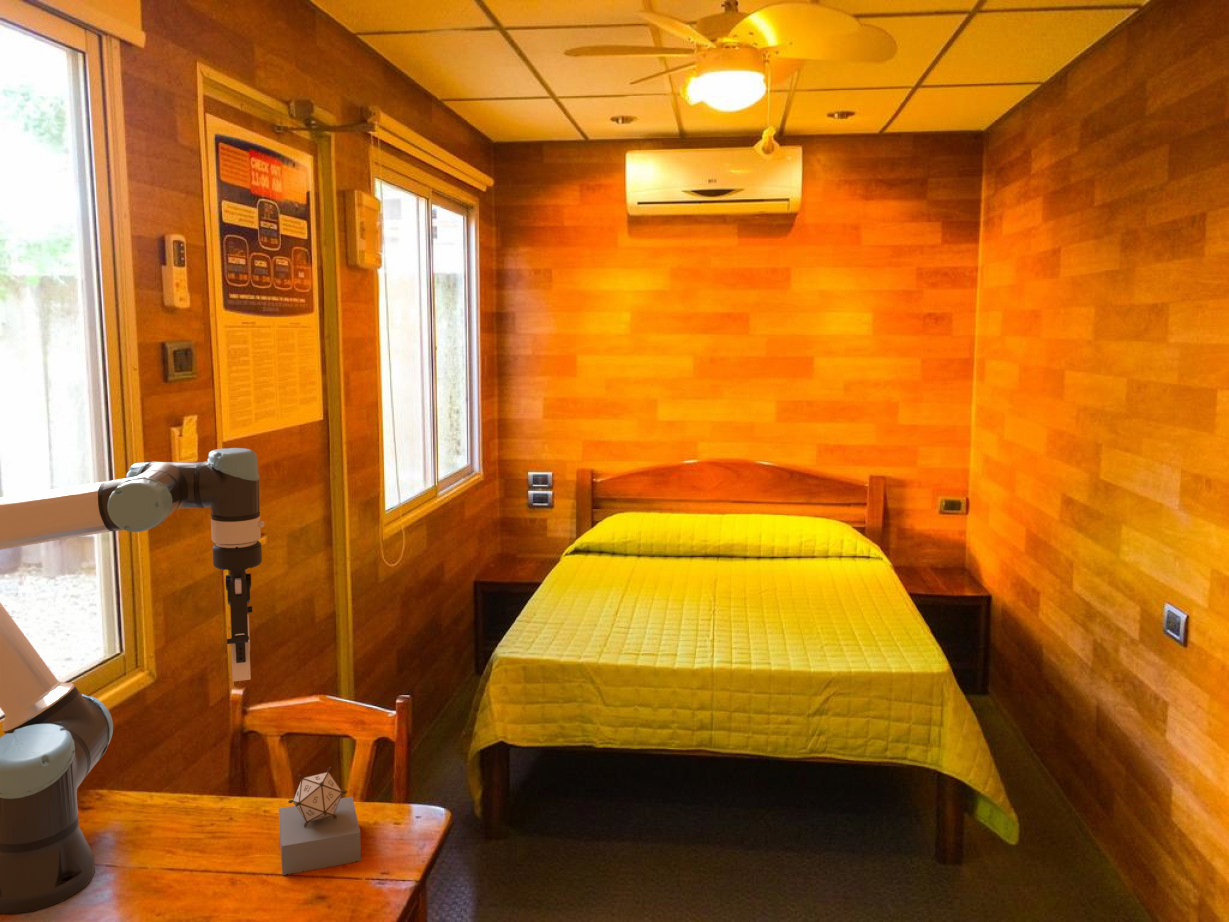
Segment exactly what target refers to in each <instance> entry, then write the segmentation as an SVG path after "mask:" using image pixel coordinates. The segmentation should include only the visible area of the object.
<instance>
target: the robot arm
mask: <svg viewBox="0 0 1229 922" xmlns="http://www.w3.org/2000/svg"><path fill="white" fill-rule="evenodd" d="M260 478H261V476H260V474H259V462H258V455H257V453H256V452H255V451H254V450H252V449H249V448H243V447H229V448H227V447H226V448H224V447H223V448H216V449H213V450H211V451H209V452H208V458H207V460H206V461H197V462H196V461H195V462H194V461H193V462H192V461H190V462H189V461H185V462H184V461H183V462H182V461H181V462H179V461H177V462H176V461H157V460H153V461H150V462H136V463H133V464H132V465H131V466H130V467H129V469H128V471H127V472H126V477H125V478H118V479H111V480H109V481H108V480H107V481H101V482H95V483H94V482H93V483H86V484H81V485H80V484H79V485H75V486H68V487H67V486H66V487H60V488H53V489H47V490H40V491H33V492H28V493H19V494H15V495H7V496H2V497H0V550H6V549H12V548H19V547H25V546H30V545H38V544H43V543H49V542H54V541H55V542H57V541H61V540H67V539H75V538H80V537H85V536H90V535H91V536H92V535H99V534H104V533H109V532H110V533H111V532H117V531H127V532H130V533H141V532H145V531H148V530H150V529H151V530H152V529H154V528H156V527H158V526H160V525H161V524H163V522H165V520H166V519H167V518H168V517H169V516H171V515H172V514H174V513H175V512H176V511H177V510H178V509H206V508H209V509H210V527H211V529H210V530H211V531H210V532H211V542H213V543H214V544H213V545H212V565H213V566H214V568H216V569H218V570H222V571H224V570H225V571H229V572H230V574H226V575H225V590H226V591H227V592H226V593H227V595H226V596H227V604H228V605H229V606H230V624H231V625H230V626H231V629H230V631H231V637H230V638H226V644H227V645H231V646H230V647H231V648H230V649H231V669H232V670H231V672H232V682H240V681H241V682H242V681H249V680H251V678H252V677H251V653H250V652H251V640H250V639H251V635H250V614H249V613H251V614H252V613H253V606H252V605H251V606H250V605H249V604H250V603H251V589H252V573H251V572H250V573H247V570H248V569H253V568H256V567H258V566H260V565H261V564H262V561H263V558H262V557H263V555H262V553H263V552H262V551H263V550H262V543H261V542H260V541H259V540H260V539H261V538H262V537H261V536H262V534H261V533H262V532H261V528H263V527H264V526H265V522H264V520H261V506H260V505H261V503H260V502H261V501H260V500H261V499H260V497H261V496H260V495H261V494H260V493H261V492H260ZM248 605H249V606H248ZM0 710H1V711H2V712H3V714H4V720H3V723H2V727H1V730H2V731H3V732H4V734H3V735H2V736H0V914H10V915H11V914H23V913H28V912H33V911H37V910H41V909H46V908H48V907H51V906H53V905H57V904H59V903H61V902H63V901H66V900H67V899H69V898H71V897H72V896H74V895H76V894H77V893H79V892H80V891H82V889H84V888H85V887H86V886H87V885H88V884H89V883H90V882H91V880H92V879H93V877H94V874H95V873H96V872H95V871H96V869H95V868H96V867H95V865H96V864H95V855H94V852H93V851H92V849H91V846H90V845H89V842H88V841H87V839H86V837H85V835H84V832H83V831H82V829H81V827H80V824H79V809H78V807H79V805H78V795H77V794H78V788H79V787H80V785H81V784H82V783H83V781H84V780H85V778H86V777H87V776H88V775H89V773H90V772H91V771H92V769H93V768H94V767H95V765H97V763H98V762H99V761H100V760H101V759H103V756H104V755H105V753H106V751H107V749H108V747H109V744H110V742H111V740H112V737H113V732H114V722H113V718H112V715H111V712H110V711H109V709H108V707H107V706H106V705H105V703H103V702H102V701H101V700H99V699H98V698H97V697H94V696H88V695H86V693H85V694H83V693H81V691H79V689H78V688H77V687H76V685H75V684H74V683H72V682H63V681H59V680H58V678H57V677H56V676H55V674H54V672H52V671H51V669H50V668H49V666H48V665H47V664H46V662H45V661H44V660H43V658H42V657H41V656H40V654H39V653H38V652H37V650H36V649H35V648H34V646H33V644H31V642H30V641H29V639H28V638H27V636H26V635H25V634H24V632H23V631H22V630H21V629H20V627H19V626H18V624H17V623H16V622H15V620H14V619H13V618H12V616H11V615H10V613H9V612H8V611H7V610H6V608H5V606H3V604H2V603H1V602H0Z"/></svg>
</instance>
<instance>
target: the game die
mask: <svg viewBox="0 0 1229 922" xmlns="http://www.w3.org/2000/svg"><path fill="white" fill-rule="evenodd" d="M331 770H332V767H331V766H329V767H328V768H327V771H325V772H320V773H317V774H313V775H308V776H304V777H303V775H302V774H298V775H297V776H298V778H299V779H300V781H299V783H298V786H297V788H296V792H295V794H294V797H293V799H289V800H288V801H287V803H289V804H292V803H293V805H294V806H296V807H297V809H298V810H299V812H300V813H301V815H302V816H303V818H304V819H305V821H306V823H305V824H304V828H305V827H306V826H307V825H308V822H311V821H315V820H319V819H323V818H326V817H330V816H333V818H334V819H337V816H336V815H335V811H336V809H337V806H338V803H339V801H340V798H342V795H346V794H347V793H348V792H349V791H348V790H342V788H341V787H340V786H339V784H338V783H337V782H336V780H335V779H334V777H333V776H332V775H331Z"/></svg>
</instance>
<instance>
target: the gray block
mask: <svg viewBox="0 0 1229 922" xmlns="http://www.w3.org/2000/svg"><path fill="white" fill-rule="evenodd" d="M335 815H336V816H337V819H334V818H333V816H330V817H326V818H323V819H319V820H315V821H311V822H308V825H307V826H306V827H305V828H304V824H305V823H306V821H305V819H304V818H303V816H302V815H301V813H300V812H299V810H298V809H297V807H296V806H295V805H292V806H285V807H279V808H278V817H279V818H278V825H279V841H280V842H279V843H280V857H281V874H282V876H287V874H288V875H292V874H291V873H293V874H298V873H303V872H302V871H304V872H308V870H309V871H315V870H319V869H326V868H331V867H336V866H342V865H346V864H352V863H351V862H353V863H356V862H355V861H358V862H361V861H362V857H361V856H362V852H361V851H362V849H361V845H362V844H361V829H360V826H359V821H358V816H357V815H358V814H357V812H356V806H355V802H354V797H353V796H348V797H341V798H340V801H339V803H338V806H337V809H336V811H335ZM360 860H361V861H360ZM314 869H315V870H314Z"/></svg>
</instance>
